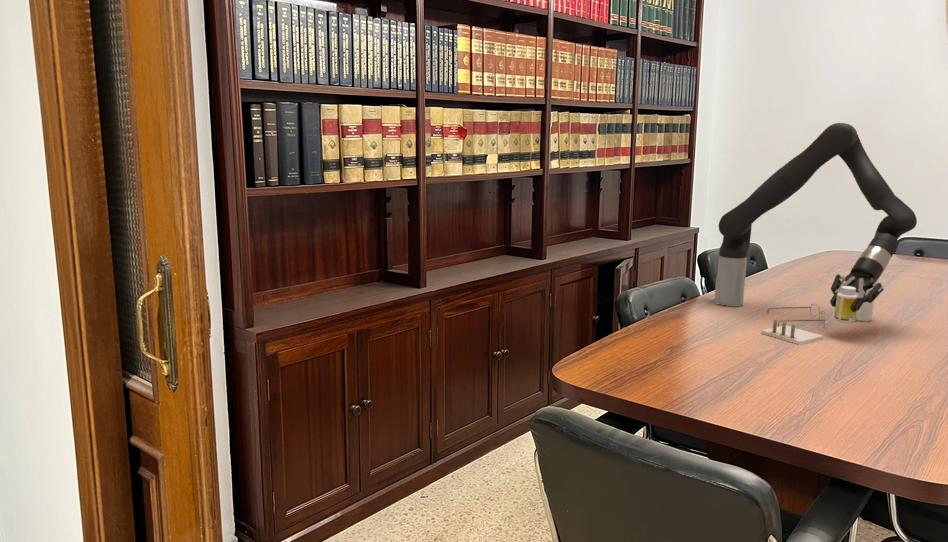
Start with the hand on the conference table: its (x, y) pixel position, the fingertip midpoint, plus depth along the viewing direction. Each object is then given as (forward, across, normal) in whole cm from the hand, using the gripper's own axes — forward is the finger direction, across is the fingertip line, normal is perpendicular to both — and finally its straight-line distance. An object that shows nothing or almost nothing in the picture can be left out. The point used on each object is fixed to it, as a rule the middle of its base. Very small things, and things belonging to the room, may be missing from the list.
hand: (842, 307), depth 203 cm
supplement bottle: (+2, 0, +4) cm, 5 cm away
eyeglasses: (+3, -19, +12) cm, 22 cm away
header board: (+13, -8, 0) cm, 16 cm away
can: (-12, -9, +26) cm, 29 cm away
